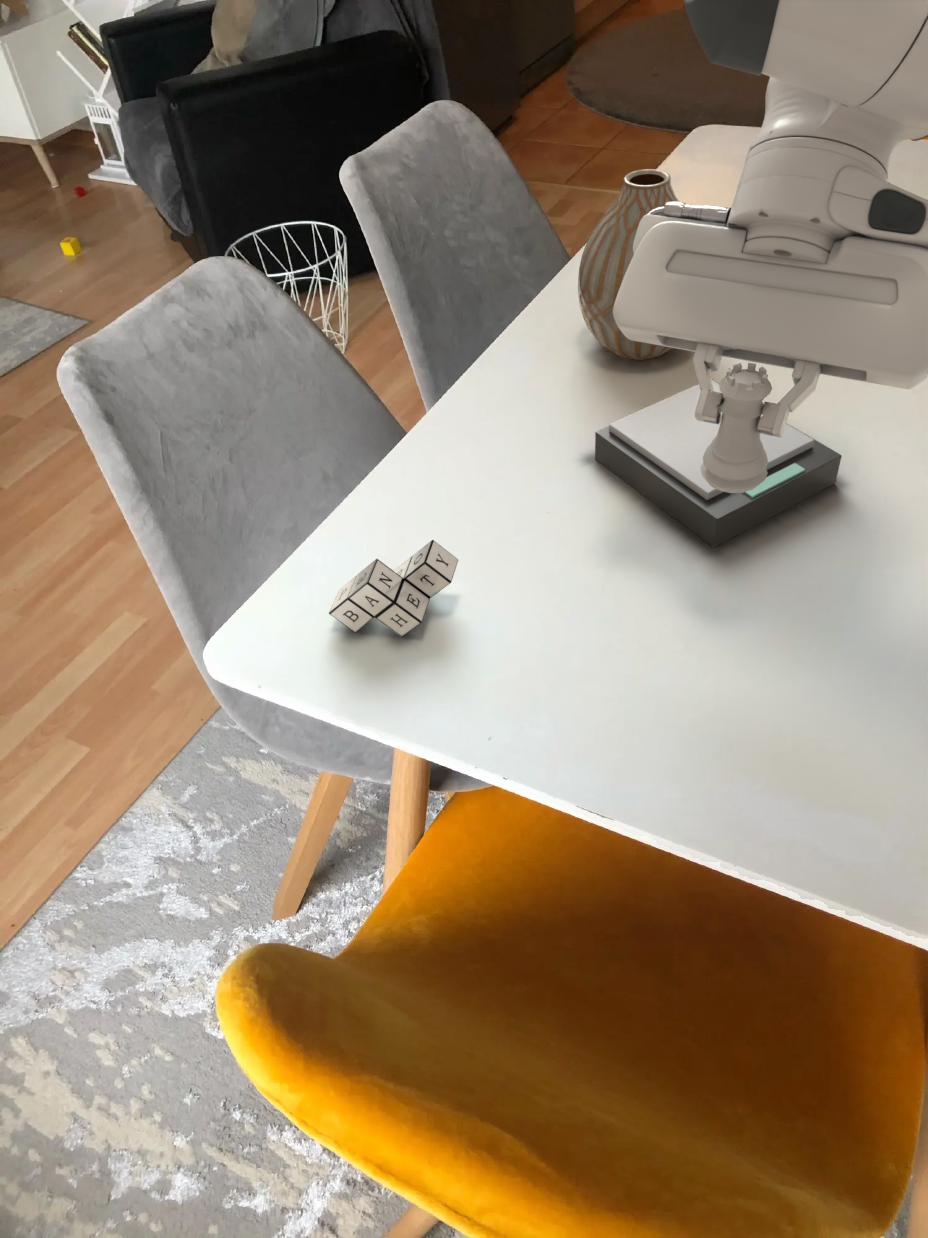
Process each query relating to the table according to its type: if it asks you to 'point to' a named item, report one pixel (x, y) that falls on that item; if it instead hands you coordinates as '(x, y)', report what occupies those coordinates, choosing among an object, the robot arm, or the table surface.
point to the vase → (619, 259)
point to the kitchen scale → (672, 456)
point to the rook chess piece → (738, 433)
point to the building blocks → (395, 591)
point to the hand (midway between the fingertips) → (737, 427)
